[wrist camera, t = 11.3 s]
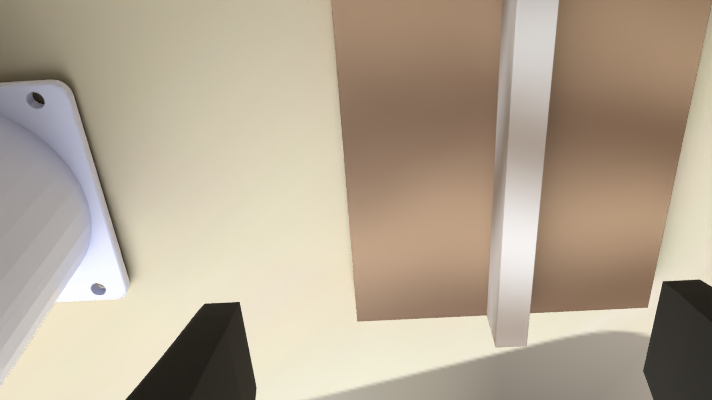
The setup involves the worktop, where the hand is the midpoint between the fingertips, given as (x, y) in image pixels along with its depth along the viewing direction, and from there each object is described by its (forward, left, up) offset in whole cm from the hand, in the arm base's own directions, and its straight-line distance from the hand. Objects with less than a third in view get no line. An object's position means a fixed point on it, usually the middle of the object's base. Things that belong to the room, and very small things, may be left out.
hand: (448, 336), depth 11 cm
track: (+3, +6, -10) cm, 12 cm away
